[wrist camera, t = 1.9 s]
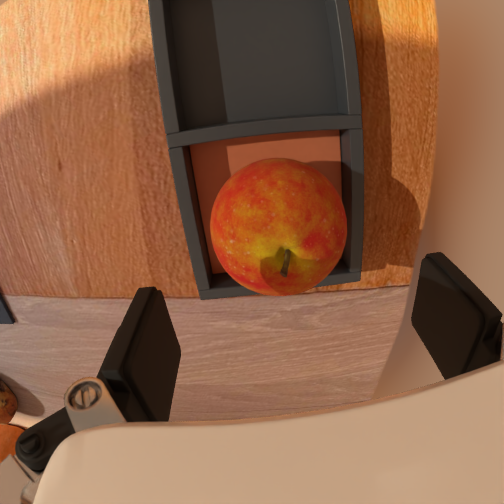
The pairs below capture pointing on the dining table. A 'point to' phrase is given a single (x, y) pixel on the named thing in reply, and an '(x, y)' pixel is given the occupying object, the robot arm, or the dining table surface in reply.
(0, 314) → the mat
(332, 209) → the fruit
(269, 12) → the tray
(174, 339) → the robot arm
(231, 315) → the dining table surface
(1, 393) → the bread roll
